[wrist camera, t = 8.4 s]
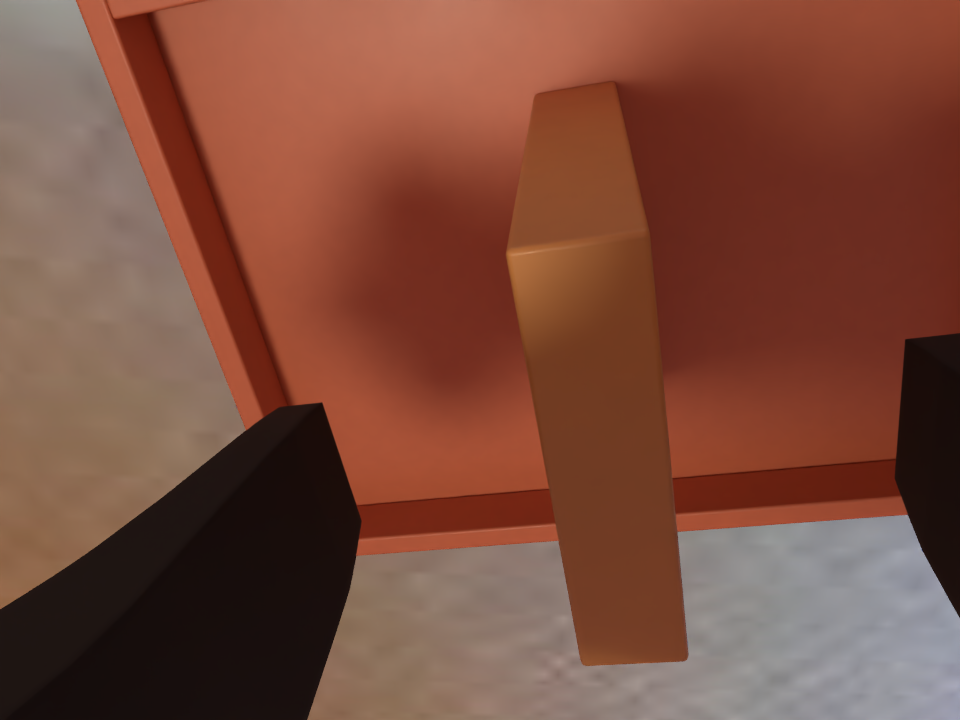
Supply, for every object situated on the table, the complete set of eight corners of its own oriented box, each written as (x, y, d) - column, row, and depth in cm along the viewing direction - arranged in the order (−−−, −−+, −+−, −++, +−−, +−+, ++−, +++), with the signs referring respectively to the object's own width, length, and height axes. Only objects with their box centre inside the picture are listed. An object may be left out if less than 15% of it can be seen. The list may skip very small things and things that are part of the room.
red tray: (1074, -226, 12) (1150, -242, 10) (981, 452, 17) (1021, 507, 16) (125, -20, 14) (70, -8, 13) (318, 509, 20) (296, 561, 18)
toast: (615, 79, 14) (650, 230, 8) (646, 380, 17) (689, 664, 10) (533, 94, 14) (504, 250, 8) (577, 388, 17) (581, 668, 11)
